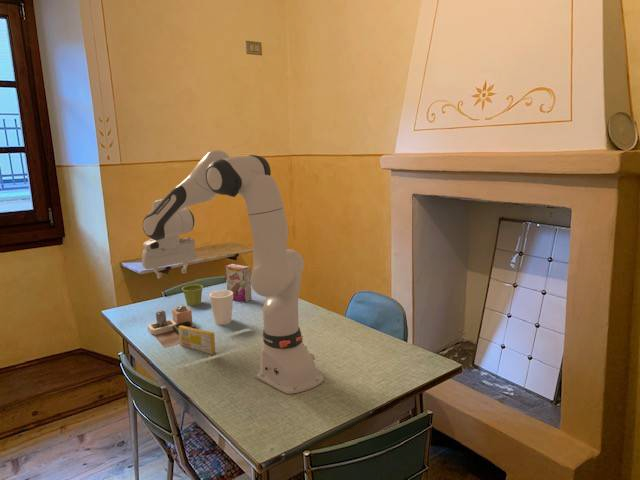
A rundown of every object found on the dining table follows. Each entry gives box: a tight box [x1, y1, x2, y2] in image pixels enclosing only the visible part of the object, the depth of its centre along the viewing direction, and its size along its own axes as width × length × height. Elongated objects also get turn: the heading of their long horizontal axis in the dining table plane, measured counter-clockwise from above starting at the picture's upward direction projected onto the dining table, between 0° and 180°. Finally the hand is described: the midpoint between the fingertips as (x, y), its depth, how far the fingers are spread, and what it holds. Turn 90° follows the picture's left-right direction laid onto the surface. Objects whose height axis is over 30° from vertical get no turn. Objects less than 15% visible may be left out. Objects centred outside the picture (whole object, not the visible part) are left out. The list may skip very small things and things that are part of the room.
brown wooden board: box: [152, 321, 199, 349], centre depth 184 cm, size 22×16×3 cm
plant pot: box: [181, 284, 204, 307], centre depth 215 cm, size 9×9×9 cm
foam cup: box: [208, 289, 234, 326], centre depth 192 cm, size 10×9×13 cm
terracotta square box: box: [171, 305, 194, 325], centre depth 191 cm, size 6×6×6 cm
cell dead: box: [176, 305, 186, 313], centre depth 191 cm, size 4×4×8 cm
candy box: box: [178, 325, 216, 357], centre depth 169 cm, size 16×2×8 cm, turn 60°
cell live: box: [155, 310, 167, 328], centre depth 186 cm, size 4×4×8 cm
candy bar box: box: [225, 263, 253, 304], centre depth 220 cm, size 11×5×16 cm, turn 58°
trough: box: [146, 318, 177, 336], centre depth 187 cm, size 8×10×2 cm
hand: (172, 275), depth 182 cm, fingers open, 8 cm apart
